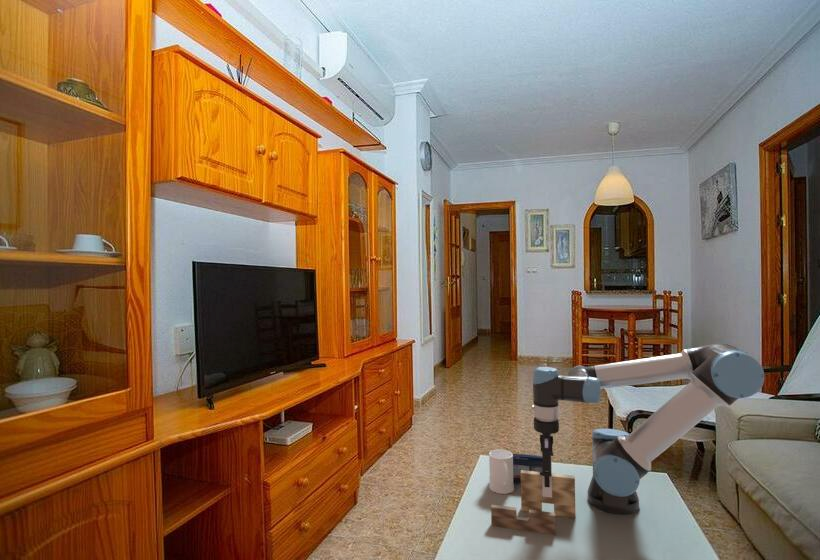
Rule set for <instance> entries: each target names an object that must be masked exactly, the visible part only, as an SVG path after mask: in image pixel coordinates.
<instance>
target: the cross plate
mask: <svg viewBox="0 0 820 560" xmlns="http://www.w3.org/2000/svg"><path fill="white" fill-rule="evenodd" d="M541 473H542V472H541ZM520 499H521V502H520V506H521V507H520V509H521V511H522V512H528V513H529V510H537V511H543V504H550V505H551V504H552V505H553V513H555V516H557V517H558V516H559V517H565V518H573V519H576V515H577V514H576V477H575V475H573V474H572V475H571V474H561V473H552V498H551V497H543V496H542V475H540V472H535V471H525V470H521V484H520Z"/></svg>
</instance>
